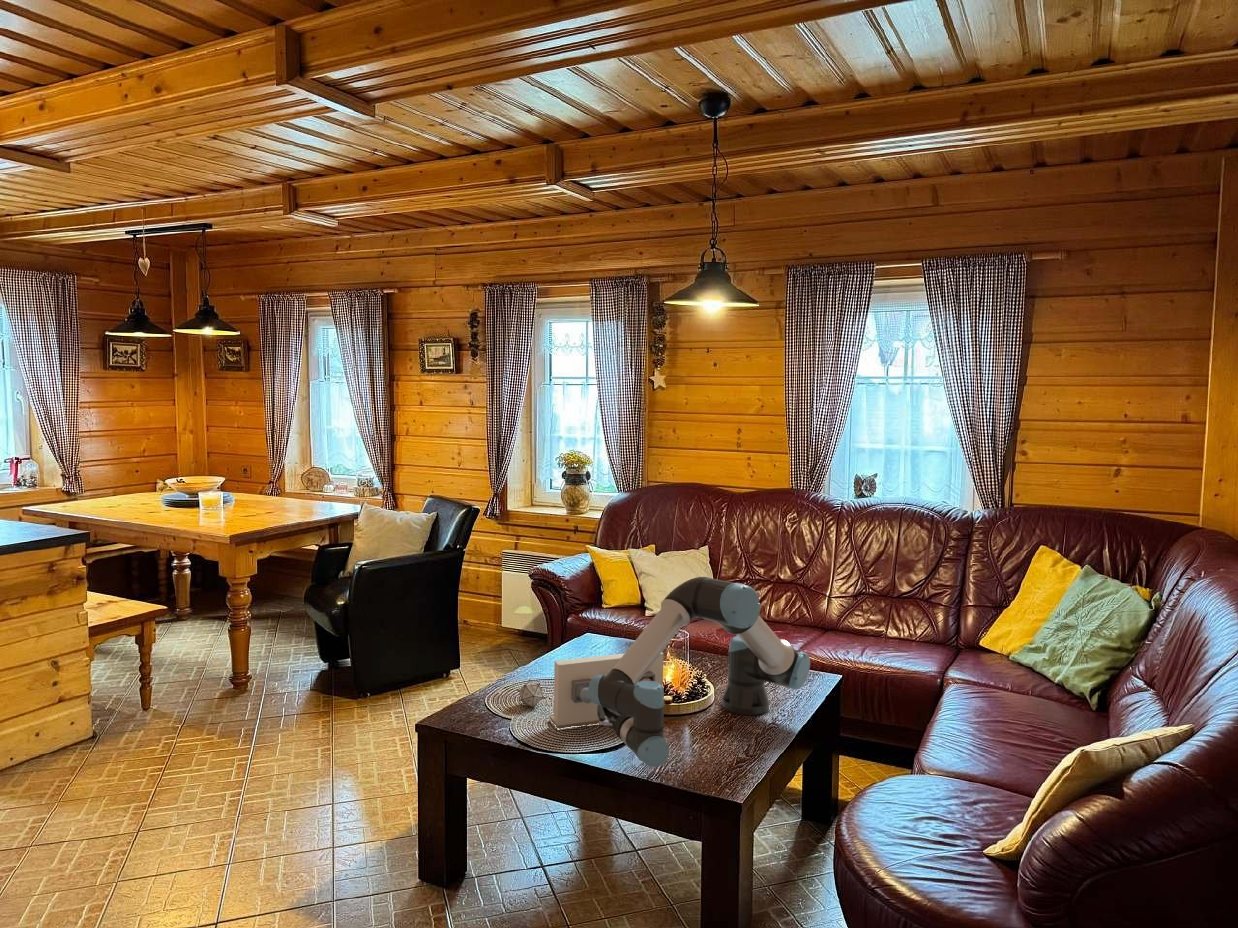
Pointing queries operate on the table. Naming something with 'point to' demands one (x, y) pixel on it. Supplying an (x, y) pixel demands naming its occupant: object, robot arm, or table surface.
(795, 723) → the table surface
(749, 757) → the table surface
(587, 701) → the slate button
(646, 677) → the terracotta button
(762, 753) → the table surface
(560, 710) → the button panel
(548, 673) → the table surface
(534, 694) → the game die
